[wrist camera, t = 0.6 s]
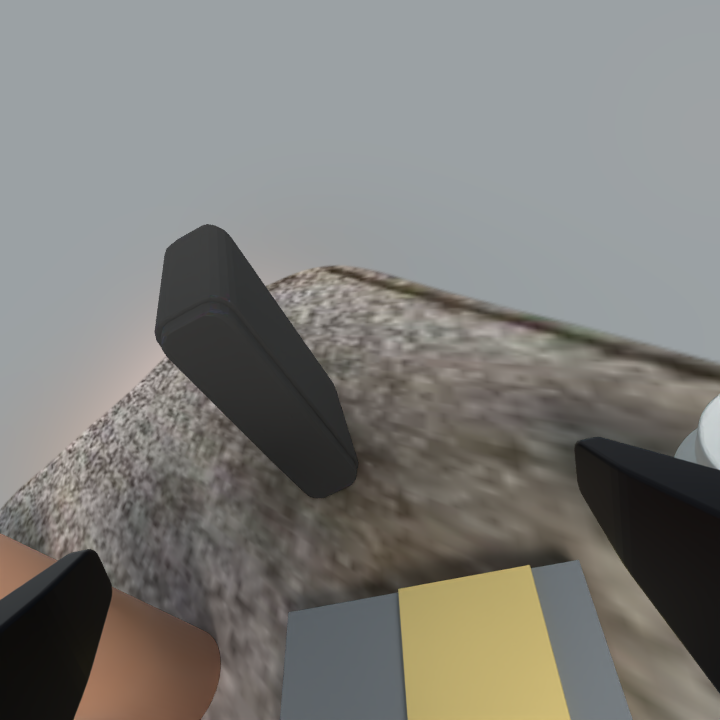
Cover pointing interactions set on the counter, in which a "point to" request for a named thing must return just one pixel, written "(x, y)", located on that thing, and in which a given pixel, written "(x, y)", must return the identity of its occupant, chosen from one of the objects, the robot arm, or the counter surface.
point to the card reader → (252, 361)
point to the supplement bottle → (704, 439)
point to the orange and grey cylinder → (133, 653)
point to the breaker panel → (456, 653)
